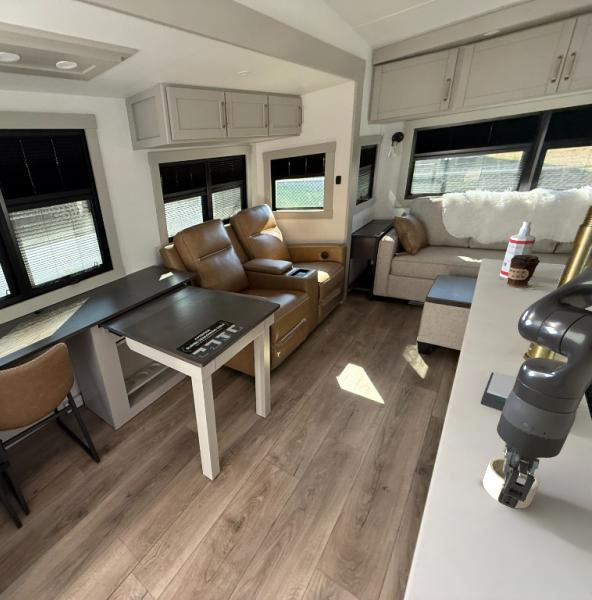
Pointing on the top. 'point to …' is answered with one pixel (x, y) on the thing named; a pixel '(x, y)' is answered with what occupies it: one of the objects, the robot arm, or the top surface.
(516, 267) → the coffee cup
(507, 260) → the spray bottle
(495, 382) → the scale
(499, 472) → the bowl
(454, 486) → the top surface
